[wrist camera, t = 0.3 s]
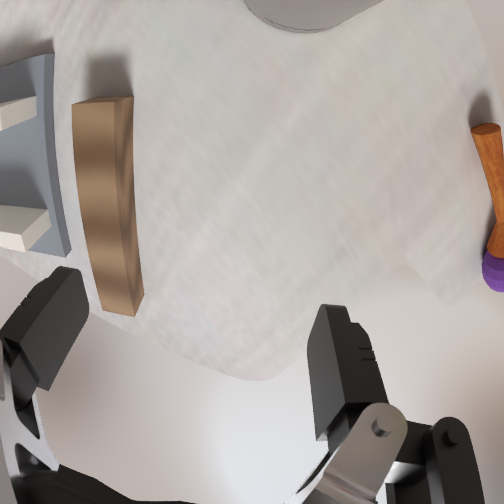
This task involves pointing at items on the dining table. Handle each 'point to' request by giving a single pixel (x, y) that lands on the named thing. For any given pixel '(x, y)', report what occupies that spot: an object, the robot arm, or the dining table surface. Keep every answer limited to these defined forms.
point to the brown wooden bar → (108, 199)
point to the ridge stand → (30, 160)
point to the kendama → (493, 199)
